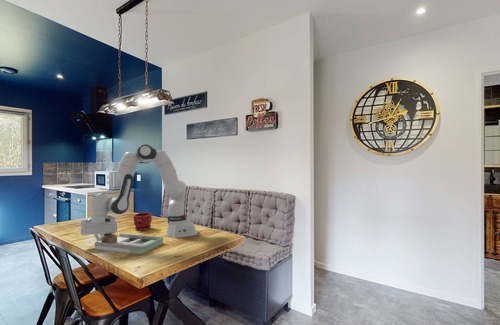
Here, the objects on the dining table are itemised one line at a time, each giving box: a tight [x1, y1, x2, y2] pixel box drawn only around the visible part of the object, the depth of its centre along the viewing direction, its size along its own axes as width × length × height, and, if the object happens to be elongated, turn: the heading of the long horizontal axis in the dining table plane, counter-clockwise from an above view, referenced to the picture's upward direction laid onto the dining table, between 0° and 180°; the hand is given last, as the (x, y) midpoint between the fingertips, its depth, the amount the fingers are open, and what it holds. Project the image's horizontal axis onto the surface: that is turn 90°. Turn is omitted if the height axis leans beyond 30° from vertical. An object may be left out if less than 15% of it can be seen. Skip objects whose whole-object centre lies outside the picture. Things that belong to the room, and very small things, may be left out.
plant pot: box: [133, 212, 152, 231], centre depth 195 cm, size 13×13×12 cm
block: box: [100, 235, 118, 244], centre depth 154 cm, size 6×6×4 cm
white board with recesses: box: [94, 232, 164, 254], centre depth 155 cm, size 34×20×4 cm, turn 73°
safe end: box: [129, 238, 164, 255], centre depth 151 cm, size 8×20×4 cm, turn 163°
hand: (99, 240), depth 156 cm, fingers closed
